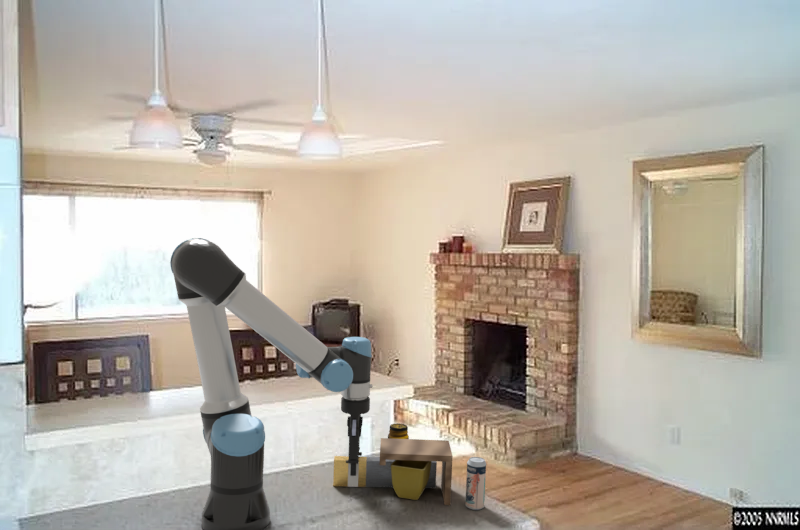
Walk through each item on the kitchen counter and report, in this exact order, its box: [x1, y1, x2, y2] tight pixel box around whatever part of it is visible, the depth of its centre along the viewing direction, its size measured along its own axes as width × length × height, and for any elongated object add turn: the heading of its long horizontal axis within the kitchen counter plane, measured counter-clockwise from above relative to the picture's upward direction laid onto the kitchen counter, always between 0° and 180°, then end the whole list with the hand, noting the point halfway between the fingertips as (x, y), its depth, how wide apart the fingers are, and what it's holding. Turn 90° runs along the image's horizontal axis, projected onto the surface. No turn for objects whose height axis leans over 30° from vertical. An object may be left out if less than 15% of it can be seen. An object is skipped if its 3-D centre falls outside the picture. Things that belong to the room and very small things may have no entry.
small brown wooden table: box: [379, 437, 453, 506], centre depth 171 cm, size 18×12×12 cm, turn 91°
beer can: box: [464, 456, 487, 511], centre depth 165 cm, size 5×5×12 cm
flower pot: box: [391, 460, 432, 501], centre depth 170 cm, size 9×9×9 cm
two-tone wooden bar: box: [332, 455, 438, 489], centre depth 177 cm, size 27×3×7 cm, turn 93°
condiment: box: [387, 422, 410, 439], centre depth 191 cm, size 7×8×12 cm
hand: (353, 483), depth 177 cm, fingers closed on two-tone wooden bar, 3 cm apart
